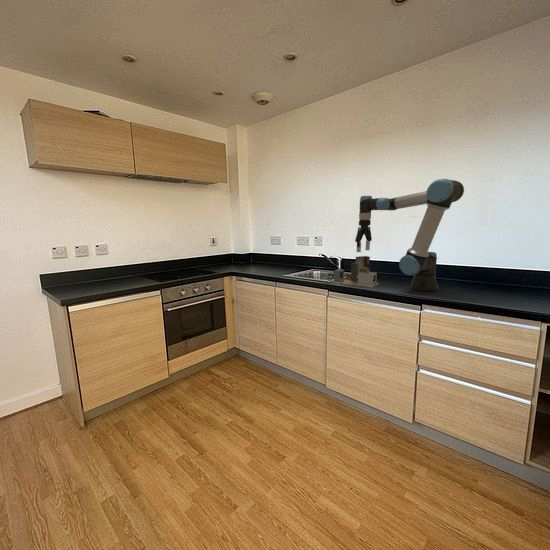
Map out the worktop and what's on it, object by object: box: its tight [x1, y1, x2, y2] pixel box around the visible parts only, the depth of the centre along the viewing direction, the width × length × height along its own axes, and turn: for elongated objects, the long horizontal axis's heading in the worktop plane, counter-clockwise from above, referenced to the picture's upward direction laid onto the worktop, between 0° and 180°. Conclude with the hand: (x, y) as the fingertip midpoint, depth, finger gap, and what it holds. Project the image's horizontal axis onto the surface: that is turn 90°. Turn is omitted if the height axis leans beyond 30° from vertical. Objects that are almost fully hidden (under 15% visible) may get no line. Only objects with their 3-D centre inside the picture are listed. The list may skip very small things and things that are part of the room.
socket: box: [333, 268, 345, 282], centre depth 206 cm, size 4×8×8 cm, turn 140°
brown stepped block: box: [346, 262, 374, 282], centre depth 195 cm, size 18×4×13 cm, turn 50°
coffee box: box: [355, 255, 371, 273], centre depth 222 cm, size 9×6×16 cm
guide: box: [331, 271, 380, 288], centre depth 199 cm, size 30×10×8 cm, turn 50°
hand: (363, 251), depth 195 cm, fingers open, 13 cm apart
